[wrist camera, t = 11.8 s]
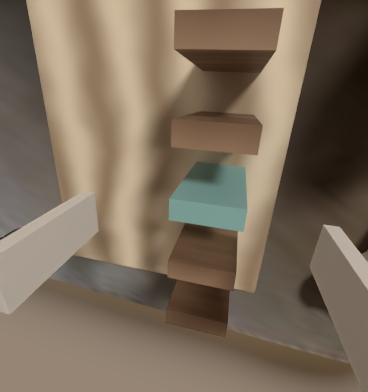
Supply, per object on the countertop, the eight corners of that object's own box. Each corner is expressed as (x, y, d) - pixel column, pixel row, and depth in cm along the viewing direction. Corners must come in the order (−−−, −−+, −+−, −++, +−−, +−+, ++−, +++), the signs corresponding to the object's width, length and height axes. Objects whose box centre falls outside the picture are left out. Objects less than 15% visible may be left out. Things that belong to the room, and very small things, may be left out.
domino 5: (230, 260, 28) (224, 337, 19) (189, 252, 29) (166, 322, 20) (232, 249, 27) (227, 323, 18) (190, 242, 28) (166, 309, 19)
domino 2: (251, 132, 22) (257, 155, 13) (199, 128, 23) (170, 147, 14) (253, 114, 21) (262, 125, 12) (200, 111, 22) (171, 118, 13)
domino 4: (236, 224, 26) (233, 291, 17) (192, 217, 27) (167, 277, 18) (238, 211, 25) (236, 274, 16) (193, 205, 26) (167, 260, 17)
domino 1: (260, 72, 20) (276, 50, 11) (203, 71, 21) (173, 48, 12) (264, 51, 19) (283, 7, 10) (204, 50, 20) (174, 10, 11)
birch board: (76, 249, 35) (71, 254, 34) (35, 0, 23) (25, -5, 22) (254, 285, 30) (254, 292, 29) (319, -9, 18) (324, -16, 17)
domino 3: (243, 182, 24) (243, 232, 15) (195, 176, 25) (168, 220, 16) (245, 167, 23) (247, 209, 14) (196, 161, 24) (169, 198, 15)
